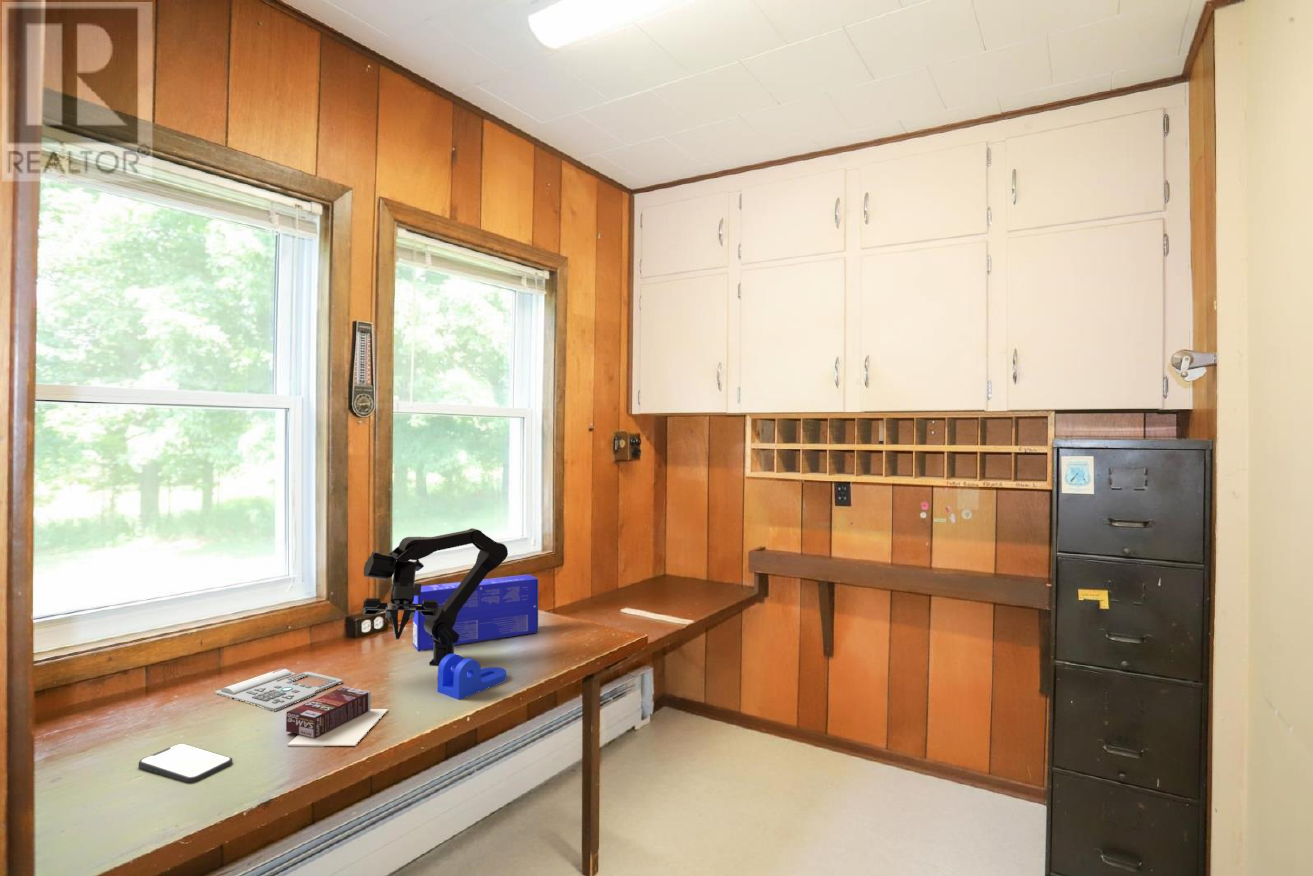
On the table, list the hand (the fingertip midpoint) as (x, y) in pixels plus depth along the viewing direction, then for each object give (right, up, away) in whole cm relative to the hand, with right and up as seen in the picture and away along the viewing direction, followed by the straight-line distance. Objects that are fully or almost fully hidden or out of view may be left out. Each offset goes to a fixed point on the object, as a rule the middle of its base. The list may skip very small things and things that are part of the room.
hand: (397, 639), depth 173 cm
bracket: (+21, -13, 0) cm, 24 cm away
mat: (-2, -12, -26) cm, 29 cm away
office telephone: (-28, -12, -5) cm, 31 cm away
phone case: (-25, -12, -44) cm, 51 cm away
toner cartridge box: (+10, -12, +39) cm, 42 cm away
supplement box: (-3, -9, -16) cm, 19 cm away
